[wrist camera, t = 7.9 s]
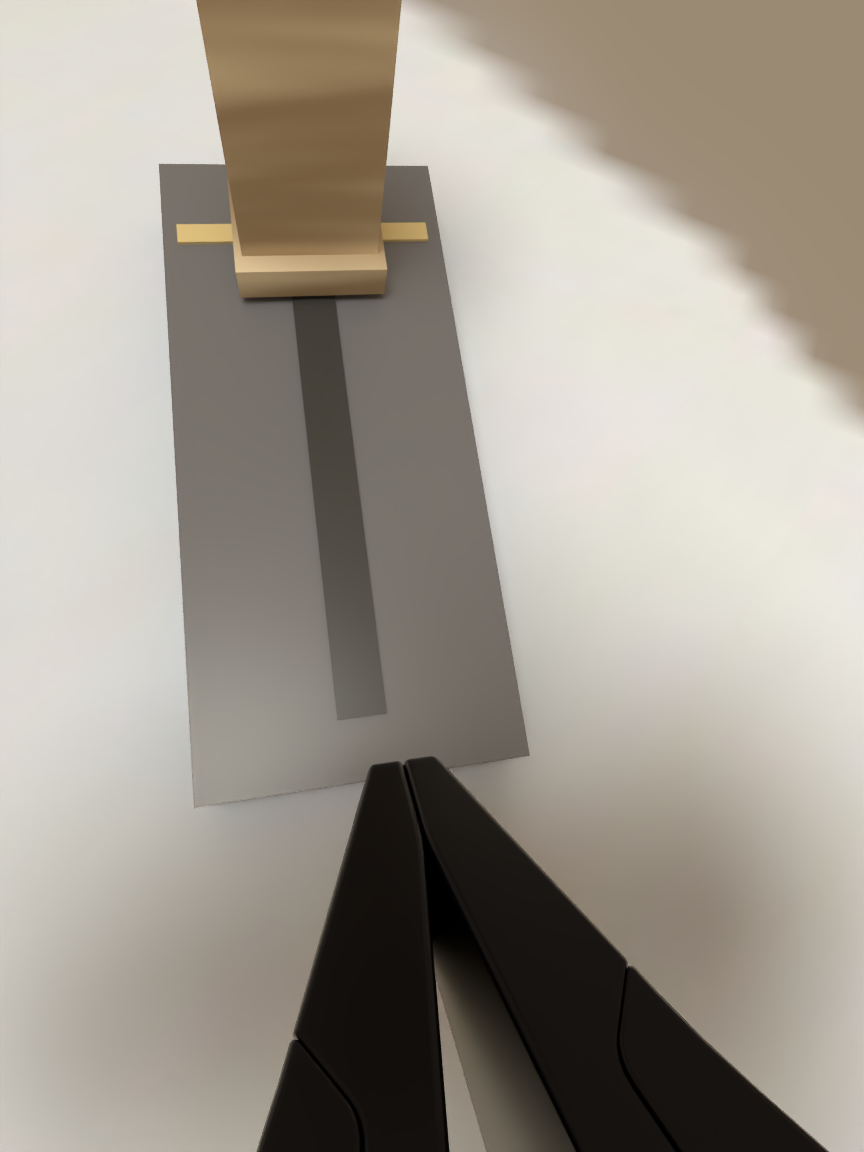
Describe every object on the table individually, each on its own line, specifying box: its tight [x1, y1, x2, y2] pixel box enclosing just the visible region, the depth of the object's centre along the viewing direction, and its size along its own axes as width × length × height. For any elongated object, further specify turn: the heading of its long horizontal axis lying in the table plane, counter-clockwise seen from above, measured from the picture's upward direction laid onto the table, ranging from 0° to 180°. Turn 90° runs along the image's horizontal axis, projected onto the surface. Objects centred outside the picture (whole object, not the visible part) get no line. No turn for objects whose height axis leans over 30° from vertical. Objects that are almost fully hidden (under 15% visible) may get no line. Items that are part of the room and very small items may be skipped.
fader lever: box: [196, 0, 401, 298], centre depth 13 cm, size 3×5×12 cm, turn 98°
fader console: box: [159, 164, 530, 808], centre depth 19 cm, size 18×8×2 cm, turn 8°
